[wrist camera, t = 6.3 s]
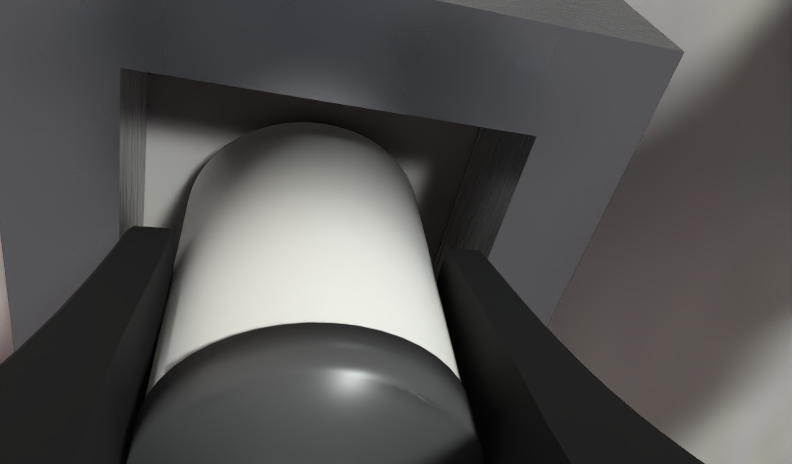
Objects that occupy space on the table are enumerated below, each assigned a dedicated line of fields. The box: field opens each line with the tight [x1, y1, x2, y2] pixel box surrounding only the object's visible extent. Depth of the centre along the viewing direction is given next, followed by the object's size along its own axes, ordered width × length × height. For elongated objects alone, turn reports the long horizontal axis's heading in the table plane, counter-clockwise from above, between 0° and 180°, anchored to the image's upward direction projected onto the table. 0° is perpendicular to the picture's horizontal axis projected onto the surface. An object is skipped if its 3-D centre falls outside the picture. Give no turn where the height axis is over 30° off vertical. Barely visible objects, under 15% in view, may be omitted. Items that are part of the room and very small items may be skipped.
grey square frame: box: [0, 0, 684, 351], centre depth 13 cm, size 10×10×2 cm
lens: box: [126, 122, 484, 464], centre depth 11 cm, size 5×5×6 cm
